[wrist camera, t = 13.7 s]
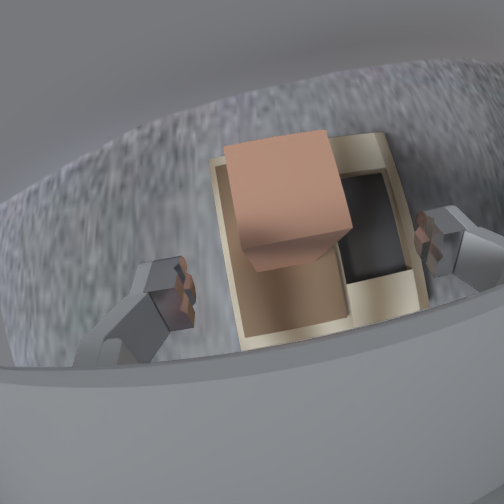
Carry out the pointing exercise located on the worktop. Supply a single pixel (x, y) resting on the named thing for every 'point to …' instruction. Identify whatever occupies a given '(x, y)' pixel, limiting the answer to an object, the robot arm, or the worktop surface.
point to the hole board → (331, 257)
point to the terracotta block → (287, 198)
